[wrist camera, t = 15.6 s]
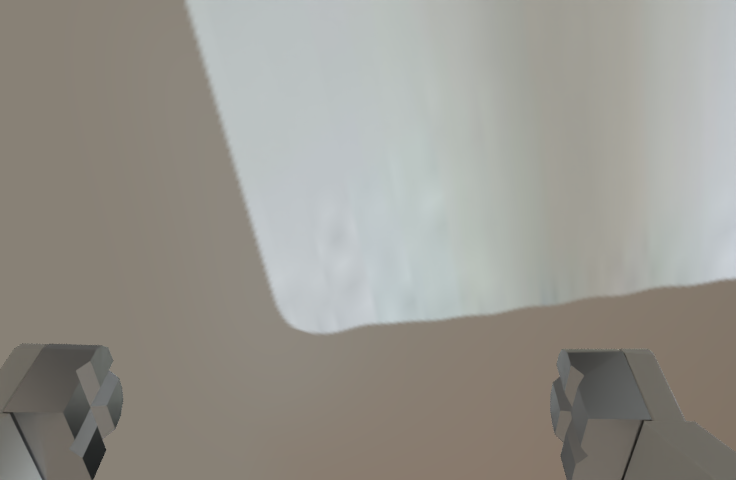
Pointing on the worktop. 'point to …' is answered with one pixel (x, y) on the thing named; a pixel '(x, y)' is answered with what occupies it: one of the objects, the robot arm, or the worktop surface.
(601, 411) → the robot arm
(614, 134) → the worktop surface
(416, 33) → the worktop surface
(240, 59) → the worktop surface
